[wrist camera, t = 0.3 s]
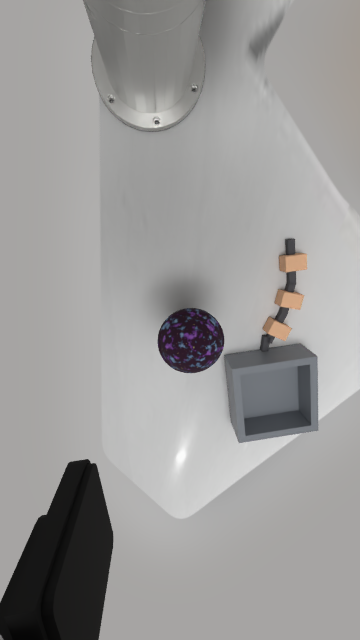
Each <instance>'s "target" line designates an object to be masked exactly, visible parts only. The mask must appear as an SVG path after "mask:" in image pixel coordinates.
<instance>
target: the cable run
mask: <svg viewBox="0 0 360 640" xmlns="http://www.w3.org/2000/svg"><path fill="white" fill-rule="evenodd" d="M285 243H286V255H281V256H279V264H280V271H283V272H287V284H286V288H285V290H279V289H278V292H277V296H276V300H275V304H277V305H279V306H280V310H279V312H278V314H277V316H276V318H275V319H273V318H271V317H269V318H268V320H267V322H266V323H265V325H264V327H263V330H264V331H265V332H266V333H267V335H262V340H261V347H260V350H261V351H263V352H265V351H268V349H269V343H272V342H273V340H274V338H275V337H276V338H279V339H281V340H283V341H285V340H286V338H287V337H288V335H289V333H290V331H291V329H292V328H290V327H289V326H288V325H286V324H284V323H283V322H284V320H285V318H286V316H287V314H288V310H289V308H292V309H298V310H300V308H301V305H302V301H303V298H304V295H302V294H299V293H296V292H294V289H295V285H296V271H299V270H305V269H307V254H304V253H295V239H287V240H285Z"/></svg>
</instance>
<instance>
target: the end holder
mask: <svg viewBox="0 0 360 640" xmlns="http://www.w3.org/2000/svg"><path fill="white" fill-rule="evenodd" d="M224 357H225V367H226V377H227V387H228V397H229V406H230V416H231V423H232V426H233V429H234V431H235V434H236V436H237V439H238V442H239V443H242V442H249V441H255V440H261V439H267V438H274V437H280V436H286V435H292V434H299V433H305V432H311V431H317V430H318V369H317V356H316V355H315V354H314V353H312V352H311V351H310V350H308V349H307V348H306V347H305V346H303V345H302V344H294V345H287V346H281V347H274V348H269V349H268V351H265V352H263V351H261V350H254V351H248V352H241V353H235V354H228V355H224Z"/></svg>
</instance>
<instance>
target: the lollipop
mask: <svg viewBox="0 0 360 640" xmlns="http://www.w3.org/2000/svg"><path fill="white" fill-rule="evenodd" d="M223 347H224V334H223V330H222V328H221V326H220V324H219V323H218V321H217V320H216V319H215V318H214V317H213V316H212V315H211V314H209V313H208V312H206V311H203V310H200V309H196V308H187V309H182V310H179V311H177V312H175V313H173V314H172V315H170V316H169V317H168V318H167V319H166V320H165V321H164V323H163V324H162V326H161V328H160V331H159V334H158V348H159V352H160V354H161V356H162V358H163V360H164V361H165V362H166V363H167V364H168V365H169V366H170V367H172V368H173V369H175V370H177V371H180V372H184V373H196V372H200V371H203V370H205V369H207V368H209V367H210V366H212V365H213V364H214V363H215V362H216V361H217V360H218V358H219V357H220V355H221V353H222V350H223Z"/></svg>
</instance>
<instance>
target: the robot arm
mask: <svg viewBox="0 0 360 640" xmlns="http://www.w3.org/2000/svg"><path fill="white" fill-rule="evenodd" d="M83 1H84V5H85V8H86V11H87V14H88V17H89V20H90V23H91V26H92V29H93V32H94V40H93V45H92V55H91V62H92V72H93V76H94V80H95V84H96V86H97V89H98V91H99V94H100V96H101V97H102V99H103V101H104V103H105V105H106V106H107V107H108V108H109V110H110V111H111V112H112V113H113V114H114V115H115V116H116V117H117V118H118V119H119V120H120V121H122V122H123V123H125V124H127V125H128V126H130V127H133V128H136V129H138V130H143V131H161V130H164V129H168V128H170V127H172V126H174V125H176V124H178V123H179V122H180V121H182V120H183V119H184V118H185V117H186V116H187V115H188V114H189V113H190V111H191V110H192V109H193V108H194V106H195V104H196V102H197V100H198V98H199V96H200V93H201V90H202V86H203V82H204V77H205V56H204V49H203V45H202V42H201V38H200V36H199V32H200V27H201V22H202V17H203V12H204V8H205V3H206V0H83ZM193 89H194V90H195V91H196V92H195V93H194V92H192V90H193ZM111 100H114V103H110V101H111ZM156 121H158V122H159V124H158V125H155V122H156ZM112 549H113V531H112V527H111V523H110V519H109V515H108V510H107V506H106V502H105V498H104V494H103V489H102V485H101V481H100V477H99V473H98V469H97V465H96V464H95V463H93V464H91V463H90V461H89V460H88V459H86V460H79V461H73V462H69V463H68V465H67V467H66V470H65V472H64V474H63V477H62V479H61V482H60V484H59V487H58V489H57V491H56V494H55V496H54V498H53V501H52V503H51V506H50V508H49V510H48V513H47V515H42V516H41V517H39V518H38V520H37V522H36V524H35V526H34V528H33V530H32V533H31V535H30V537H29V539H28V542H27V544H26V546H25V548H24V551H23V553H22V555H21V558H20V560H19V562H18V564H17V567H16V569H15V571H14V573H13V575H12V578H11V580H10V582H9V585H8V587H7V589H6V591H5V593H4V596H3V598H2V600H1V602H0V640H98V639H99V633H100V626H101V620H102V613H103V607H104V600H105V593H106V588H107V581H108V574H109V568H110V562H111V555H112Z"/></svg>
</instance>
